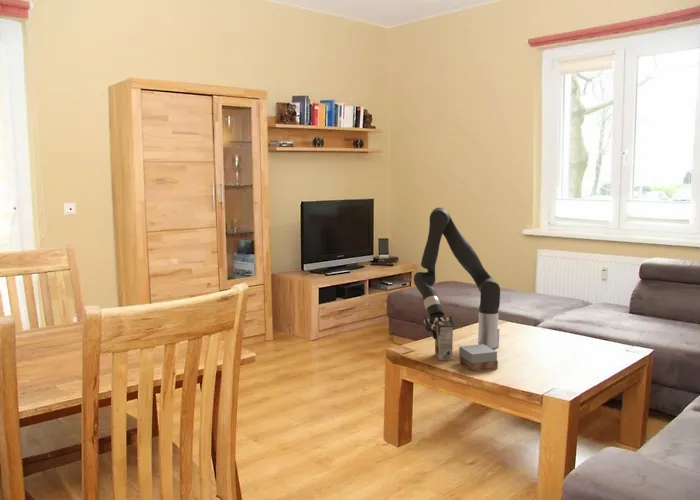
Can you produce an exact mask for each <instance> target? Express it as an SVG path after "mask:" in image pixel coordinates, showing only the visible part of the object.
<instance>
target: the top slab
mask: <svg viewBox="0 0 700 500" xmlns="http://www.w3.org/2000/svg"><path fill="white" fill-rule="evenodd" d="M458 350H459V354H458V355H459V356H461V357H463V358H465V359H466V360H468V361H469V362H471V363H480V362H490V361H498V351H496V350H494V348H493V349H491V348H489V347H488V346H486V345H484V344H481V345H478V344H473V345H461V346H459V349H458Z"/></svg>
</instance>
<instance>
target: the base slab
mask: <svg viewBox="0 0 700 500" xmlns="http://www.w3.org/2000/svg"><path fill="white" fill-rule="evenodd" d="M459 356H460V355H459ZM459 363H460V364H461V365H463V366H464V367H465V368H467V369H468V370H470V371H472V372H477V371H478V372H481V371H490V370H498V368H499V367H498V366H499V361H498V360H497V361H490V362H480V363H471V362H469V361H468V360H466V359H465V358H463V357H461V356H460V357H459Z"/></svg>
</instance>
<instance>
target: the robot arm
mask: <svg viewBox="0 0 700 500" xmlns="http://www.w3.org/2000/svg"><path fill="white" fill-rule="evenodd" d="M442 237H444V238H445V240H446V242H447V244H448V246H449V248H450V250H451V252H452V254H453V256H454V258H456V260H457V262H458V263H459V264H460V265H461V267H462V268H463V269H464V270H465V271H466V272H467V274H469V275H470V277H471V278H472V280H473V281H474V283H475V285H476V287H477V288H478V291H479V293H480V296H479V297H480V303H479V308H478V329H477V331H478V333H477V345H481V344H484V345H486V346H488V347H489V348H491V349H493V350H494V349H497V348H499V347H500V331H501V329H500V327H499V309H500V304H501V303H500V302H501V301H500V300H501V287H500V285H499V283H498V282H497V281H496V280H495V279H494V278H493V277H492V276H491V274H489V273H488V271H487V270H486V268H484V266H483V263H482V261H481V259H480V257H479V256H478V254H477V253H476V250H474V248H473V246H472V245H471V243H470V242H469V241H468V240H467V239H466V237H465V236H464V234H462V233H461V231H460V230H459V229H458V227H457V225H456V224H455V222H454V220H453V218H452V217H451V215H450V213H449V211H448V210H447V209H445V208H444V207H435V208H434V209H433V210H432V211H431V213H430V215H429V228H428V235H427V239H426V240H427V241H426V243H425V247H424V250H423V254H422V258H421V262H420V266H421V267H422V268H423V269H426V270H427V272H425V271H418V272H415V273H414V275H413V283H414V285H415V287H416V289H417V290H418V292H419V293H420V294H421V296H422V299H423V303H424V308H425V310H426V313H427V317H428V318H427V317H425V318H424V320H423V324H424V328H425V330H426V332H427V333H428V332H430V334H431V336H432V339H434V340H435V339H436V338H437V335H436V332H435V321H449V322H450V323H451V324H452V326H453V329H454V328H455V324H454V321H453V317H452V316H447V317H446V316H445V312H444V309H443V307H442V303H441V301H440V298H439V296H438V293H437V290H436V289H435V287H433V285H435V283H436V264H437V260H438V256H439V251H440V245H441V240H442ZM430 324H431V326H430Z"/></svg>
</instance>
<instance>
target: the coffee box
mask: <svg viewBox="0 0 700 500" xmlns="http://www.w3.org/2000/svg"><path fill="white" fill-rule="evenodd" d="M434 330H435V332H436V335H437V338H436V339H434V355H435V356H436V358H437V359H438V360H439V361H444V360H445V361H448V360H451V361H452V360H453V337H454V333H453V332H454V328H453V326H452V324H451V323H450V322H449V321H447V320H446V321H435V329H434Z"/></svg>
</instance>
